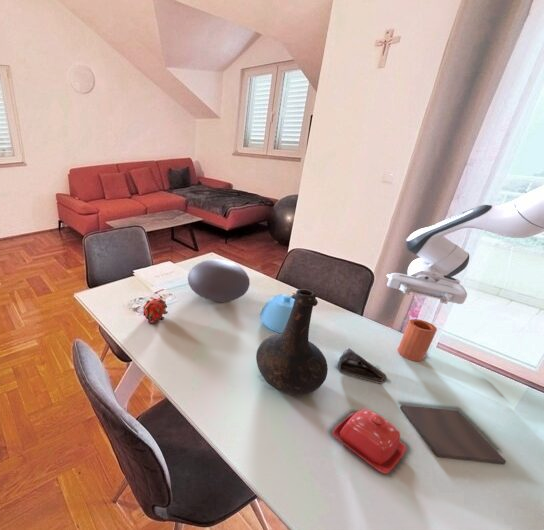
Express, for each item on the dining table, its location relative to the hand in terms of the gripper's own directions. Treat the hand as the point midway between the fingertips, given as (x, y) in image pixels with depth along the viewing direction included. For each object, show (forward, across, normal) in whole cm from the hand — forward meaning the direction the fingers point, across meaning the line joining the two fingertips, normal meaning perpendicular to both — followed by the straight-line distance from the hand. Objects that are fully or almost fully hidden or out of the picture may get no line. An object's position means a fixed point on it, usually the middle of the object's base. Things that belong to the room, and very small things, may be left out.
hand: (425, 296), depth 101 cm
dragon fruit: (+45, -75, +16) cm, 89 cm away
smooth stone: (+15, -64, +16) cm, 68 cm away
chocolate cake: (+30, -12, +15) cm, 36 cm away
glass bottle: (+47, -28, +15) cm, 57 cm away
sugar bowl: (+20, -37, +16) cm, 44 cm away
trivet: (+42, +7, +15) cm, 45 cm away
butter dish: (+56, -8, +15) cm, 59 cm away
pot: (+12, 0, +15) cm, 19 cm away
